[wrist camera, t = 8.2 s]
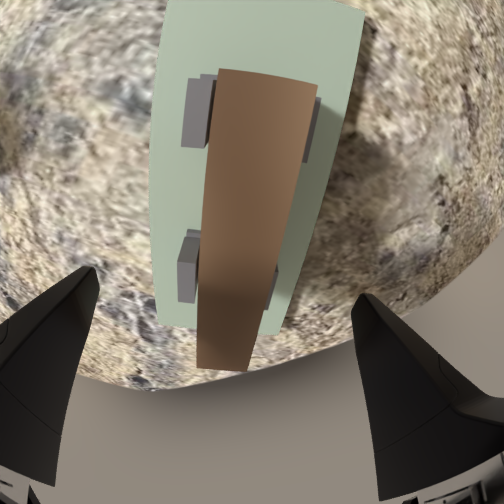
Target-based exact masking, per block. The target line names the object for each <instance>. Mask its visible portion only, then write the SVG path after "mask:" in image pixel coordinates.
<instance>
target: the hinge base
mask: <svg viewBox="0 0 504 504" xmlns="http://www.w3.org/2000/svg"><path fill="white" fill-rule="evenodd" d="M364 17H365V12H364V11H361V10H359V9H356V8H353V7H351V6H348V5H345V4H342V3H339V2H336V1H333V0H168V3H167V8H166V12H165V17H164V22H163V27H162V33H161V39H160V45H159V51H158V58H157V65H156V72H155V81H154V90H153V100H152V112H151V127H150V147H149V222H150V243H151V258H152V271H153V282H154V292H155V301H156V309H157V317H158V324H161V325H169V326H177V327H185V328H193V329H197V297H198V271H199V251H200V235H201V220H202V207H203V195H204V183H205V173H206V163H207V153H208V144H209V135H210V127H211V119H212V111H213V104H214V97H215V90H216V83H217V77H218V70H219V68H223V69H233V70H241V71H249V72H256V73H262V74H269V75H274V76H280V77H285V78H290V79H295V80H299V81H304V82H308V83H312V84H316V85H318V89H317V94H316V98H315V103H314V108H313V113H312V117H311V122H310V126H309V131H308V136H307V140H306V144H305V149H304V153H303V158H302V162H301V166H300V171H299V175H298V179H297V183H296V188H295V192H294V196H293V200H292V204H291V208H290V212H289V217H288V221H287V225H286V229H285V233H284V237H283V241H282V244H281V248H280V252H279V256H278V260H277V264H276V268H275V272H274V275H273V279H272V283H271V287H270V290H269V294H268V298H267V301H266V305H265V309H264V312H263V316H262V320H261V323H260V327H259V331H258V334H265V335H278V334H279V331H280V328H281V326H282V323H283V320H284V317H285V315H286V312H287V309H288V306H289V303H290V301H291V298H292V295H293V292H294V289H295V286H296V283H297V280H298V277H299V274H300V271H301V268H302V265H303V262H304V259H305V256H306V253H307V250H308V247H309V243H310V240H311V237H312V234H313V231H314V227H315V224H316V221H317V217H318V214H319V211H320V207H321V204H322V200H323V197H324V193H325V190H326V186H327V183H328V179H329V176H330V172H331V168H332V164H333V161H334V157H335V153H336V149H337V145H338V141H339V137H340V133H341V129H342V125H343V121H344V117H345V113H346V108H347V104H348V100H349V95H350V91H351V86H352V81H353V77H354V72H355V67H356V62H357V57H358V51H359V46H360V40H361V35H362V29H363V23H364Z"/></svg>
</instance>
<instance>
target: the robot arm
mask: <svg viewBox="0 0 504 504" xmlns="http://www.w3.org/2000/svg"><path fill="white" fill-rule="evenodd" d="M99 291H100V286H99V282H98V278H97V274H96V270H95V268H94V267H91V266H82V267H80V268H79V269H77V270H76V271H74V272H73V273H71V274H70V275H68V276H67V277H65V278H64V279H62V280H61V281H59V282H58V283H56V284H55V285H53V286H52V287H50V288H49V289H47V290H46V291H45V292H43V293H42V294H40V295H39V296H38V297H36V298H35V299H33V300H32V301H31V302H29V303H28V304H26V305H25V306H24V307H22V308H21V309H20V310H18V311H17V312H16V313H14V314H13V315H12V316H10V317H9V319H6V320H5V321H4V322H3V323H1V324H0V504H40V502H39V500H38V499H37V497H36V495H35V494H34V492H33V490H32V488H31V486H30V485H29V482H30V479H33V480H36V481H39V482H41V483H44V484H47V485H50V486H53V487H55V480H56V471H57V462H58V455H59V448H60V442H61V435H62V430H63V425H64V420H65V414H66V410H67V406H68V402H69V398H70V394H71V389H72V386H73V382H74V378H75V375H76V371H77V368H78V365H79V361H80V358H81V355H82V352H83V348H84V345H85V342H86V339H87V336H88V333H89V330H90V326H91V322H92V318H93V314H94V310H95V306H96V302H97V299H98V295H99ZM351 320H352V327H353V335H354V343H355V350H356V356H357V360H358V365H359V370H360V374H361V379H362V384H363V389H364V394H365V400H366V405H367V410H368V417H369V422H370V429H371V435H372V442H373V449H374V458H375V466H376V475H377V485H378V496H379V501H384V500H388V499H392V498H396V497H400V496H403V495H406V494H410V493H413V492H417V496H415V497H412V498H410V499H408V500H406V501H404V502H403V503H402V504H504V398H497V397H492V396H489V395H487V394H485V393H484V392H483V391H481V390H480V389H479V388H478V387H477V386H475V385H474V384H473V383H472V382H471V381H469V380H468V379H467V378H466V377H465V376H463V375H462V374H461V373H460V372H459V371H458V370H456V369H455V368H454V367H453V366H452V365H451V364H450V363H449V362H447V361H446V360H445V359H444V358H443V357H442V356H441V355H440V354H438V352H436V350H434V348H432V347H431V346H430V345H429V344H428V343H427V342H426V341H425V340H424V339H423V338H421V337H420V336H419V335H418V334H417V333H416V332H415V331H414V330H413V329H411V328H410V327H409V326H408V325H407V324H406V323H405V322H404V321H403V320H401V319H400V318H399V317H398V316H397V315H396V314H395V313H393V312H392V311H391V310H390V309H389V308H388V307H387V306H385V305H384V304H383V303H382V302H381V301H380V300H378V299H377V298H376V297H375V296H374V295H372V294H369V293H362V294H360V295H359V297H358V299H357V301H356V302H355V304H354V306H353V308H352V311H351Z"/></svg>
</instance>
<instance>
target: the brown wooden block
mask: <svg viewBox="0 0 504 504" xmlns="http://www.w3.org/2000/svg"><path fill="white" fill-rule="evenodd" d="M317 89H318V85H316V84H312V83H308V82H304V81H299V80H295V79H290V78H285V77H280V76H274V75H269V74H262V73H256V72H249V71H241V70H233V69H223V68H219V70H218V77H217V83H216V90H215V97H214V104H213V111H212V119H211V127H210V135H209V144H208V153H207V163H206V173H205V183H204V195H203V207H202V220H201V235H200V251H199V271H198V297H197V368H203V369H213V370H226V371H242V372H247V369H248V366H249V362H250V359H251V355H252V352H253V348H254V345H255V341H256V338H257V334H258V331H259V327H260V323H261V320H262V316H263V312H264V309H265V305H266V301H267V298H268V294H269V290H270V287H271V283H272V279H273V275H274V272H275V268H276V264H277V260H278V256H279V252H280V248H281V244H282V241H283V237H284V233H285V229H286V225H287V221H288V217H289V212H290V208H291V204H292V200H293V196H294V192H295V188H296V183H297V179H298V175H299V171H300V166H301V162H302V158H303V153H304V149H305V144H306V140H307V136H308V131H309V126H310V122H311V117H312V113H313V108H314V103H315V98H316V94H317Z"/></svg>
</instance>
